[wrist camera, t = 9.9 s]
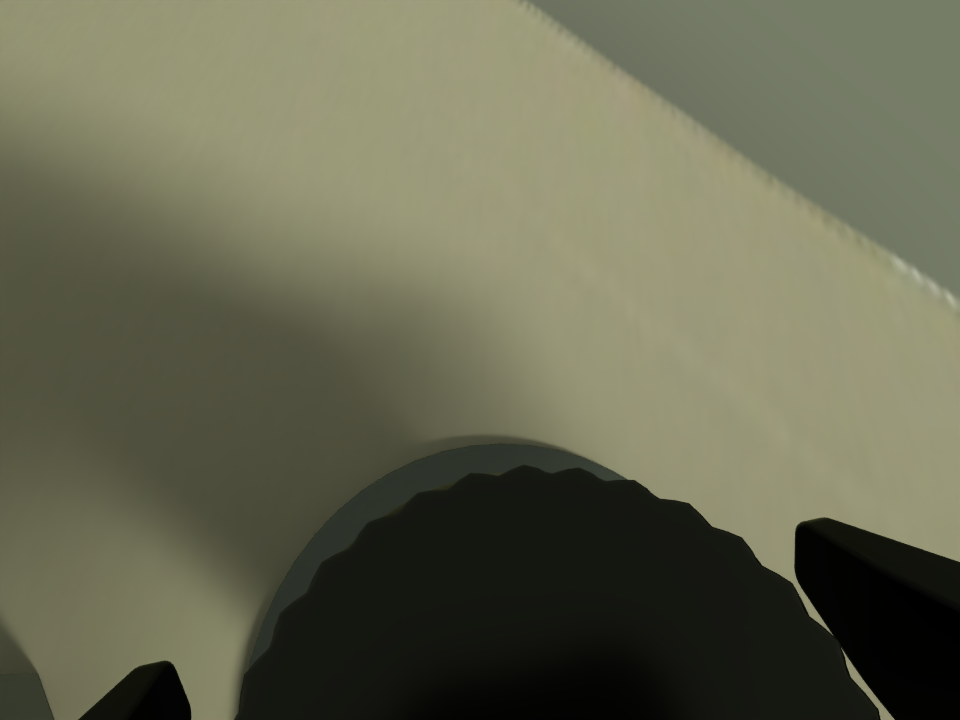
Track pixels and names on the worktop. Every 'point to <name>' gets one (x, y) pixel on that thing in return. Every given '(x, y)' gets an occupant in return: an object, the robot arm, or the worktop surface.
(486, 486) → the supplement bottle
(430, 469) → the rubber mat
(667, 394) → the worktop surface
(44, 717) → the square grey tray
